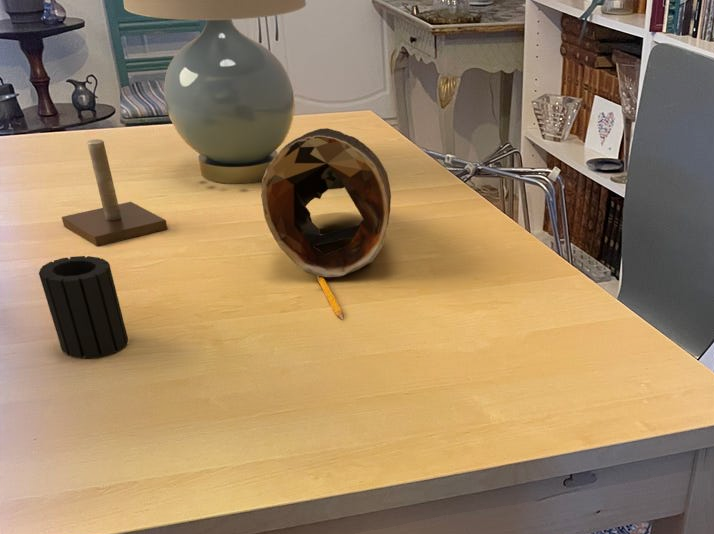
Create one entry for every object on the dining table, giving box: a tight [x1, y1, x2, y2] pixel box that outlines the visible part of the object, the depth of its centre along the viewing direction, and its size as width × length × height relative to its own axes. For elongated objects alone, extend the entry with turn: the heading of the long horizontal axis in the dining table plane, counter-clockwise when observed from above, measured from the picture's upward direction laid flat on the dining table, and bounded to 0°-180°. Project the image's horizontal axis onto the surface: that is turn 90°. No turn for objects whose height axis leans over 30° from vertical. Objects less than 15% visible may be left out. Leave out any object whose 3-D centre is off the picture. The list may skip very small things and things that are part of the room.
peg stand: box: [61, 138, 168, 247], centre depth 122 cm, size 10×10×10 cm
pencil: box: [315, 275, 344, 321], centre depth 108 cm, size 1×13×1 cm, turn 19°
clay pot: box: [260, 127, 392, 278], centre depth 118 cm, size 15×15×25 cm
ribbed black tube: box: [38, 255, 129, 359], centre depth 96 cm, size 7×7×8 cm
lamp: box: [122, 0, 307, 185], centre depth 131 cm, size 25×25×39 cm
